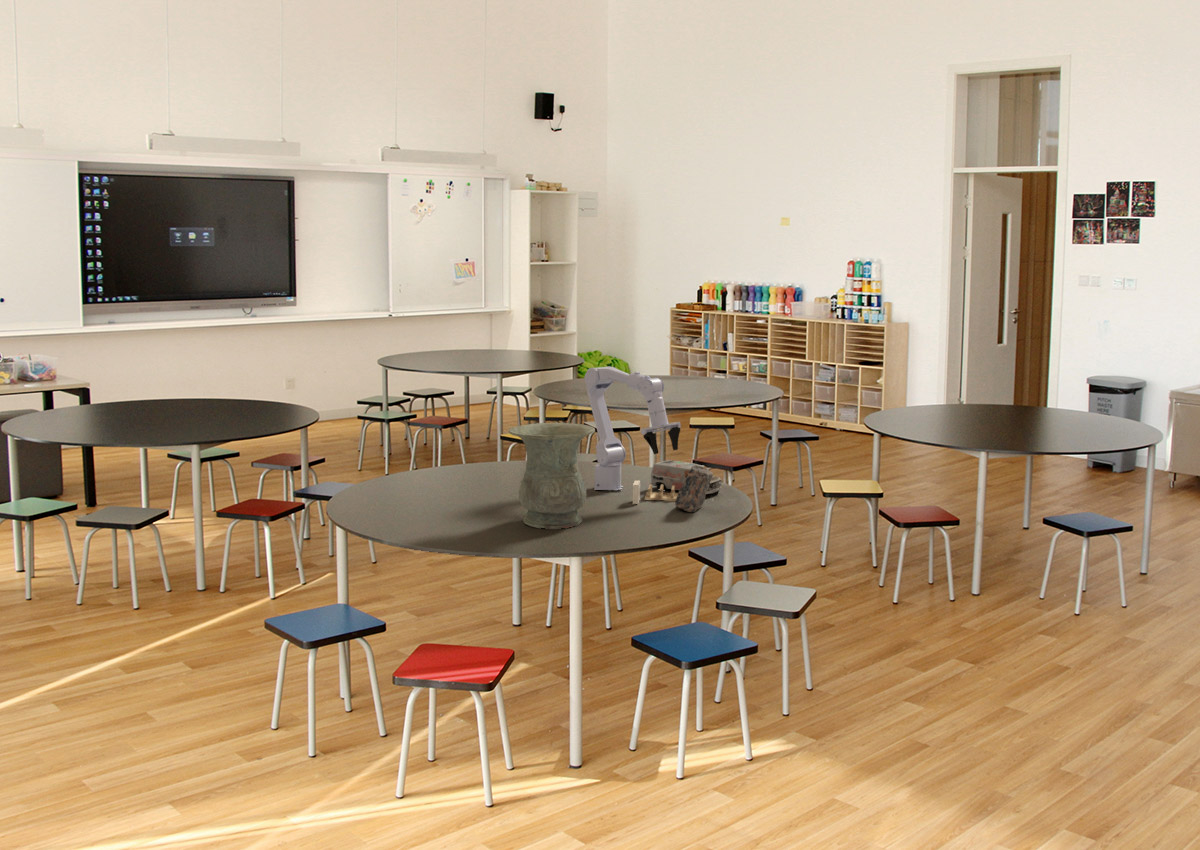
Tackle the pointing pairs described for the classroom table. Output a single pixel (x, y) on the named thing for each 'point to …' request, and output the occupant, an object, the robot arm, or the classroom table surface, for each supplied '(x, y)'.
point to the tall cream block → (636, 492)
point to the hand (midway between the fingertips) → (666, 451)
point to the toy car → (678, 475)
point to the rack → (661, 494)
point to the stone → (694, 489)
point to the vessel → (552, 474)
